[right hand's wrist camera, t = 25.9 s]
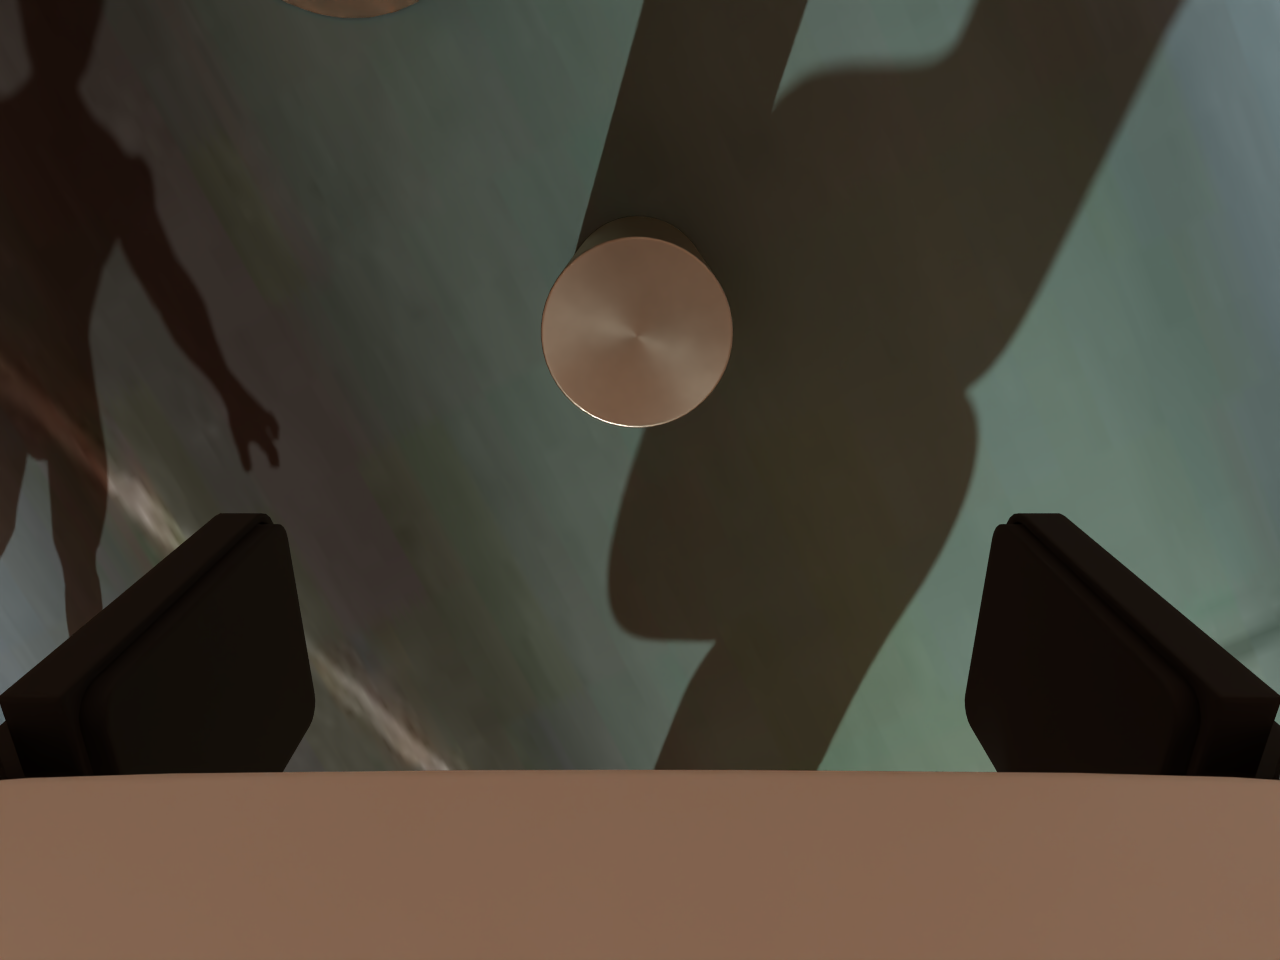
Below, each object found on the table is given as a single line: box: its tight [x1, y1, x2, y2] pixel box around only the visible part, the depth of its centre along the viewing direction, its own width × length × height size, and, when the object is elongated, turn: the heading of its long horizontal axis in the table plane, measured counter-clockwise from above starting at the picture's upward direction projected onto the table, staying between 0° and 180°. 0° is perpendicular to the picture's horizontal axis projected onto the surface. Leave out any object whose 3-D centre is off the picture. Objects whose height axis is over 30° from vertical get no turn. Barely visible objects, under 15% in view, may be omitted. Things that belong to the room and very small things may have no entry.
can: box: [541, 216, 733, 428], centre depth 34 cm, size 7×7×12 cm
